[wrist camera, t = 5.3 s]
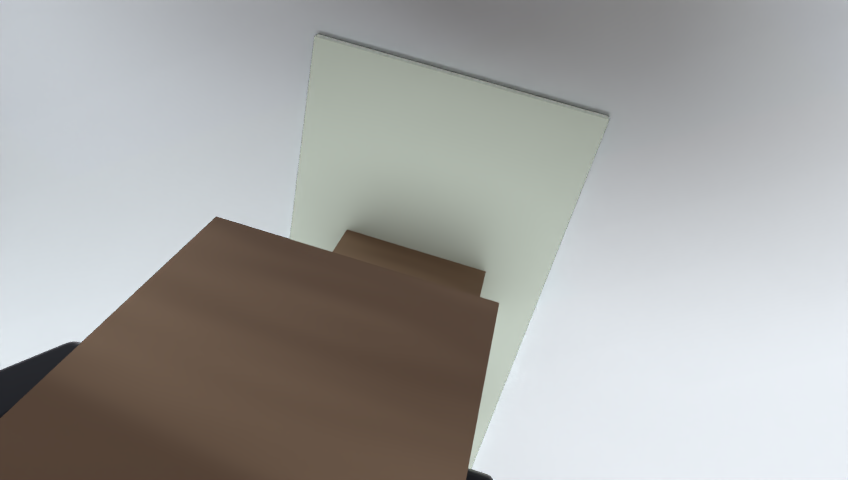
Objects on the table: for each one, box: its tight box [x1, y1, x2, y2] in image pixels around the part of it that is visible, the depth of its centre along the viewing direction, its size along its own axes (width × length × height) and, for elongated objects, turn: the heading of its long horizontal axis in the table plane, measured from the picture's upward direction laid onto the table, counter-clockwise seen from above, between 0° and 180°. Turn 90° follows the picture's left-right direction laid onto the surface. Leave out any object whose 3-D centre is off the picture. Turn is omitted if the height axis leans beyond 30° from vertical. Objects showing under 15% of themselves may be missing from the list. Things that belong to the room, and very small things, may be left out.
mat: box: [290, 34, 609, 469], centre depth 25 cm, size 9×25×1 cm, turn 168°
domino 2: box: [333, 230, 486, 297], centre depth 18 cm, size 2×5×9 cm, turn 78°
